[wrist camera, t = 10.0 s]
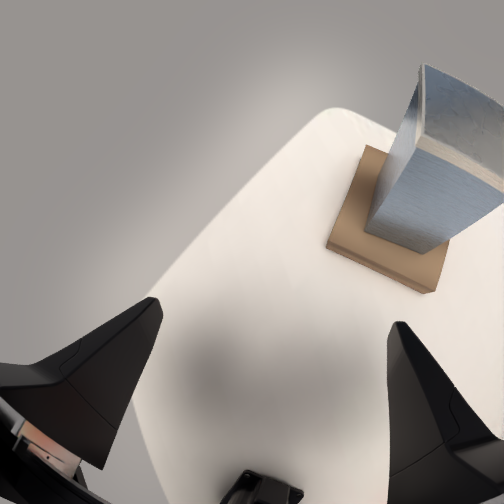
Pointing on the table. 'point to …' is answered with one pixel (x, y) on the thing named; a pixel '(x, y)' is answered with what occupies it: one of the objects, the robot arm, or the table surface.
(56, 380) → the robot arm
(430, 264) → the walnut block
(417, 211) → the tea tin
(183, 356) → the table surface
